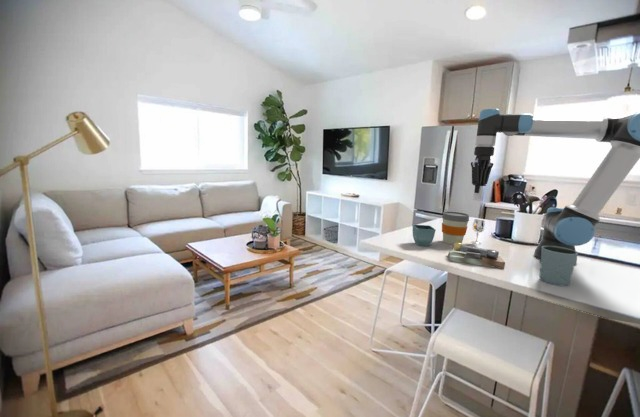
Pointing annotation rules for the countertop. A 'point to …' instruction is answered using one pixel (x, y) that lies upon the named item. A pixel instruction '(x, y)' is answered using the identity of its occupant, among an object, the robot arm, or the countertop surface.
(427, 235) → the flower pot
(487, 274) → the countertop surface
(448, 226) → the reusable coffee cup
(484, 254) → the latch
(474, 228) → the wineglass
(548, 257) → the grey green cup
